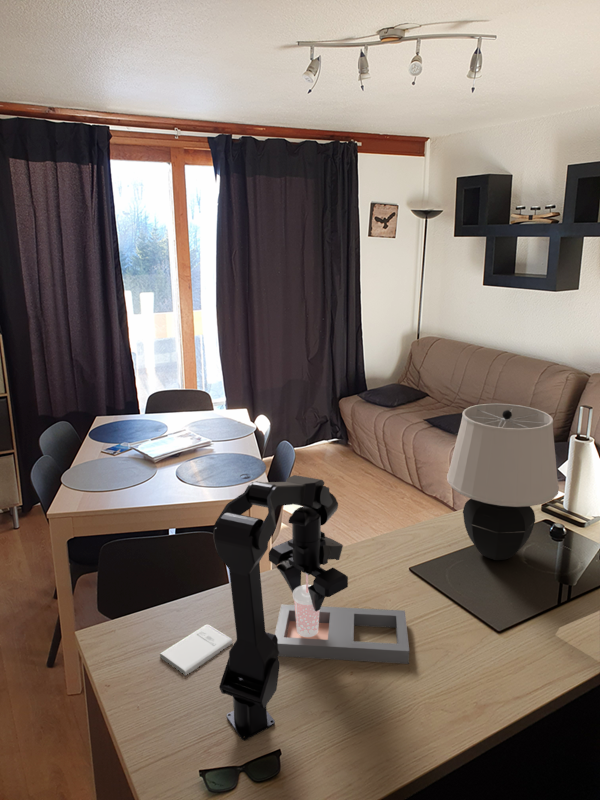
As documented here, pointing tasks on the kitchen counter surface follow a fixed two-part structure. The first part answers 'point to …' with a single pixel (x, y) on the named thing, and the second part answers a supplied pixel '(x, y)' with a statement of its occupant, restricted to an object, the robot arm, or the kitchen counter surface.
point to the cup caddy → (343, 635)
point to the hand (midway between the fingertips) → (307, 603)
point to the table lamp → (503, 474)
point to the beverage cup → (305, 611)
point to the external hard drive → (196, 649)
